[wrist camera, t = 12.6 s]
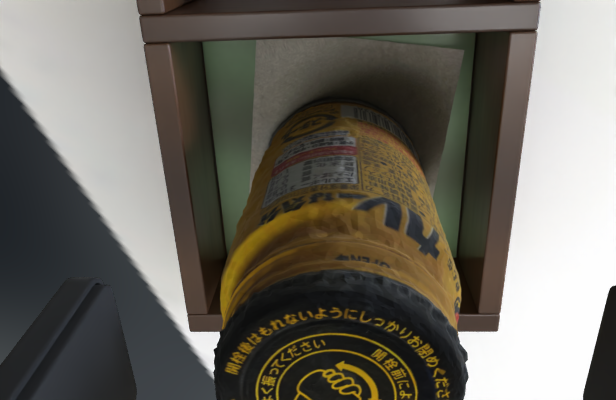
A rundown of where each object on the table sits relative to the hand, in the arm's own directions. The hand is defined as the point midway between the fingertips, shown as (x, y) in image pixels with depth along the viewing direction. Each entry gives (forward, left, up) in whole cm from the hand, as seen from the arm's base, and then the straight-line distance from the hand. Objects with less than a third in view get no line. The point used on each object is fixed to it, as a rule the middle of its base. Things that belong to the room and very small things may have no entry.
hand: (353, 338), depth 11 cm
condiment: (+1, 0, -12) cm, 12 cm away
